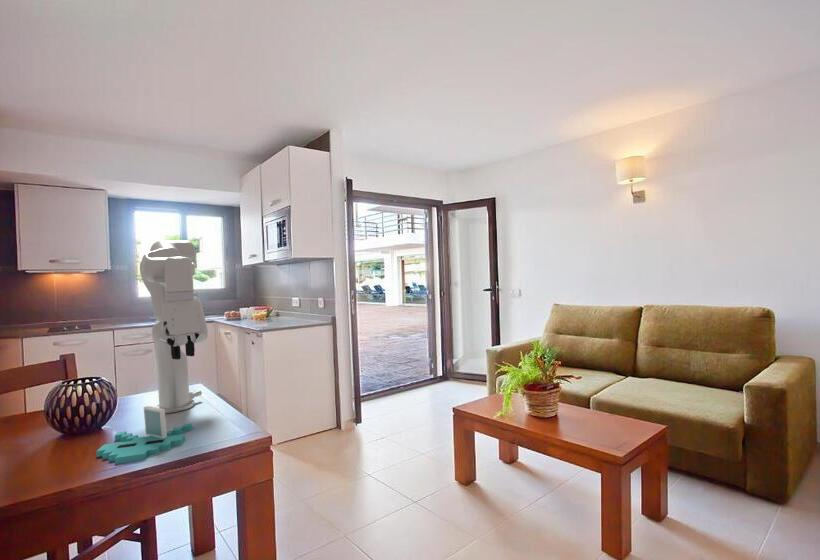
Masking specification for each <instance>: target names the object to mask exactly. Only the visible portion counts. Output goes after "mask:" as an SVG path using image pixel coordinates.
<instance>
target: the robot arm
mask: <svg viewBox="0 0 820 560" xmlns="http://www.w3.org/2000/svg"><path fill="white" fill-rule="evenodd" d="M196 259H197V251H196V247H195V245H194V243H192V242H191V241H190V240H179V239H178V240H171V239H169V240H168V239H167V240H166V239H165V240H163V239H162V240H159V241H156V242H154V243H152V244H151V246H150V251H149V252H146V253H144V255H143V256H142V259H141V261H140V264H139V272H140V276H141V280H142V282H143V284H144V286H145V288H146V289H147V291H148V292H149V294H150V298H151V299H150V300H151V306H152V311H153V317H154V319H155V321H157V322H156V323H155V324H153V326H152V328H151V337H152V340H153V345H154V350H155V351H154V352H155V357H156V369H157V370H156V371H157V372H156V373H157V374H156V375H157V390H158V405H156V406H154V407H155V408H161V409H165V414H172V413H177V412H182V411H186V410H188V409H190V408H192V407H193V406H195V400H194V398H197V397H200V396H202V394H203V392H202V391H201V390H196V391H190V384H189V383H190V380H189V370H188V369H189V368H188V367H189V366H188V357H194V356H195V352H196V351H195V344H201V343H203V342H205V341H206V340H207V339H208V334H209V333H208V332H209V330H208V324H207V320H206V316H205V313H204V309H203V304H202V301H201V300H200V298H198V297H197V296H198V293H196V292H195V291H194V279H193V277H194V275H195V272H196V268H195V263H196ZM181 346H184V347H185V352H184V351H182V350H181Z"/></svg>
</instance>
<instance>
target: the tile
mask: <svg viewBox="0 0 820 560" xmlns="http://www.w3.org/2000/svg"><path fill="white" fill-rule="evenodd" d="M155 407H156V406H154V407H153V406H150V405H147V406H144V407H143V415H144V428H145V429H144V430H145V436H154V437H159V438H166V437H167V431H168V430H167V421H166V413H165V409H161V408H155Z"/></svg>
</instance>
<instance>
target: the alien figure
mask: <svg viewBox="0 0 820 560" xmlns="http://www.w3.org/2000/svg"><path fill="white" fill-rule="evenodd" d="M192 430H193V423H184V424H183V425H182V426H179V427H173V429H172V430H166V431H167V437H166V438H159V437H154V436H150V435H145V436H139V434H135V435H133V432H130V433H127V431H120V432H119V431H118V432H117V433H116V434H115V435H114V441H120V442H113V443H105V444H103V445H102V446H101V447H99V448H98V449H97V450H96V458H99V457H102V460H107V459H108V462H114V464H115V465H118V464H125V463H131V462H133V463H134V462H139V461H145V460H146V459H147V458H148V457H149V456H150V457H151V456H157V455H159V454H160V453H161V452H164V451H166V452H167V451H170V450H171V449H172V447H179V446H182V445H183V444H184V442H185V440H186V434H185V432H191V431H192Z"/></svg>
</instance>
